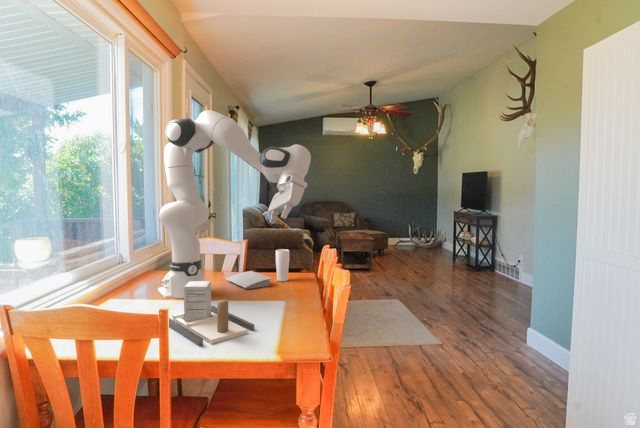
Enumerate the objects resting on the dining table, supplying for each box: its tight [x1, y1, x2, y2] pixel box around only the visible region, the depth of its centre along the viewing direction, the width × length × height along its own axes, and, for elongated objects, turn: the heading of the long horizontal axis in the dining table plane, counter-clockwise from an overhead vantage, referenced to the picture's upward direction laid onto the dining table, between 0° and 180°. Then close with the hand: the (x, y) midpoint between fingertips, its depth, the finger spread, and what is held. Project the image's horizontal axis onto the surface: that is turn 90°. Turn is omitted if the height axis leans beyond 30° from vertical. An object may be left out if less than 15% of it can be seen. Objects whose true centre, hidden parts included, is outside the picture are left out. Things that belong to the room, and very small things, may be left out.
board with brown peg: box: [172, 299, 248, 345], centre depth 118 cm, size 26×12×10 cm, turn 44°
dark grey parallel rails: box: [168, 305, 255, 347], centre depth 119 cm, size 26×18×2 cm
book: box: [225, 270, 273, 290], centre depth 176 cm, size 15×23×4 cm, turn 39°
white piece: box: [275, 248, 290, 282], centre depth 182 cm, size 7×7×15 cm
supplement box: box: [183, 280, 212, 323], centre depth 123 cm, size 7×7×13 cm
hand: (277, 220), depth 129 cm, fingers open, 8 cm apart
